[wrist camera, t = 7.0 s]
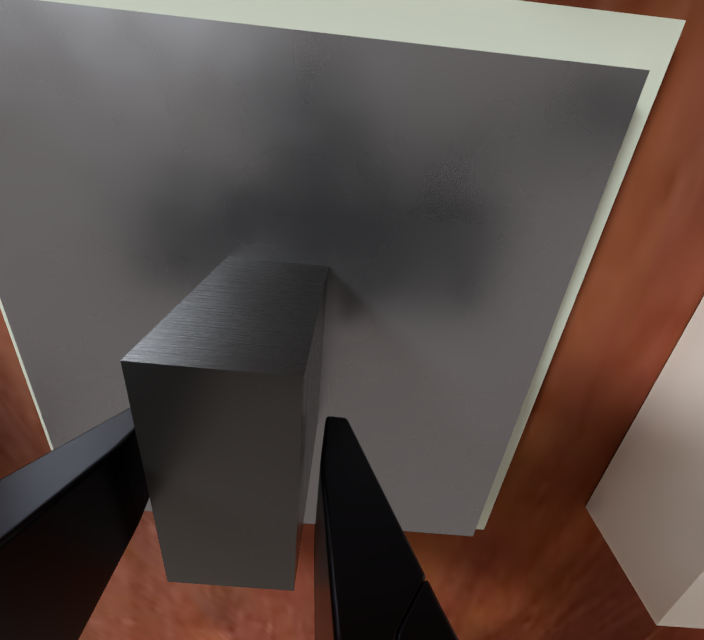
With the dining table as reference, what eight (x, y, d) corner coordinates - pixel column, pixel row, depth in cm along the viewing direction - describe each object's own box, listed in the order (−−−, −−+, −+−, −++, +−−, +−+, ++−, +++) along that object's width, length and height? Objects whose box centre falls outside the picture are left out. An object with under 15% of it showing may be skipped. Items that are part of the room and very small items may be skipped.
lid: (617, 76, 8) (1021, -7, 3) (465, 511, 14) (521, 709, 9) (-57, 0, 8) (-799, -230, 3) (91, 481, 14) (-55, 672, 9)
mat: (664, 27, 8) (686, 20, 8) (479, 515, 15) (483, 529, 15) (-103, -64, 8) (-138, -78, 7) (78, 483, 15) (67, 496, 14)
